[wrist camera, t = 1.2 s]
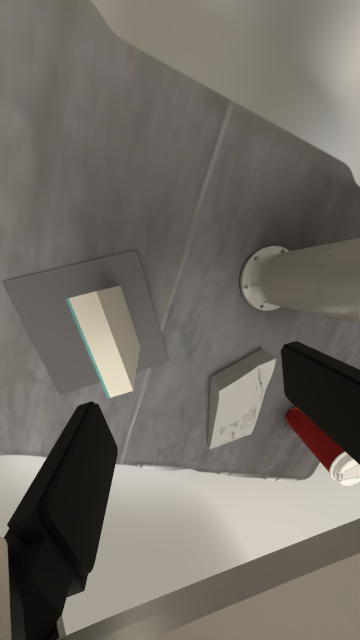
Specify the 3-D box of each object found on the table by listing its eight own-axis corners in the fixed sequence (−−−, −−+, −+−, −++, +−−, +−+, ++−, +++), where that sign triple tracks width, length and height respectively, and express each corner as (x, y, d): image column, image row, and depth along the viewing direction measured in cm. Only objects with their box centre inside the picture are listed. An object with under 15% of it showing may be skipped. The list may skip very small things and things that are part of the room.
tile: (120, 285, 31) (96, 291, 17) (140, 345, 34) (132, 390, 20) (103, 289, 30) (65, 298, 17) (125, 350, 34) (107, 398, 20)
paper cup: (282, 430, 46) (335, 493, 33) (281, 407, 44) (338, 463, 31) (308, 422, 47) (370, 480, 34) (308, 399, 45) (375, 450, 32)
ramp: (234, 449, 46) (245, 470, 41) (180, 438, 42) (184, 461, 37) (284, 356, 41) (304, 367, 36) (228, 335, 38) (241, 344, 32)
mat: (137, 250, 30) (136, 250, 30) (168, 360, 36) (168, 361, 36) (4, 281, 28) (1, 281, 28) (60, 392, 34) (59, 394, 34)
